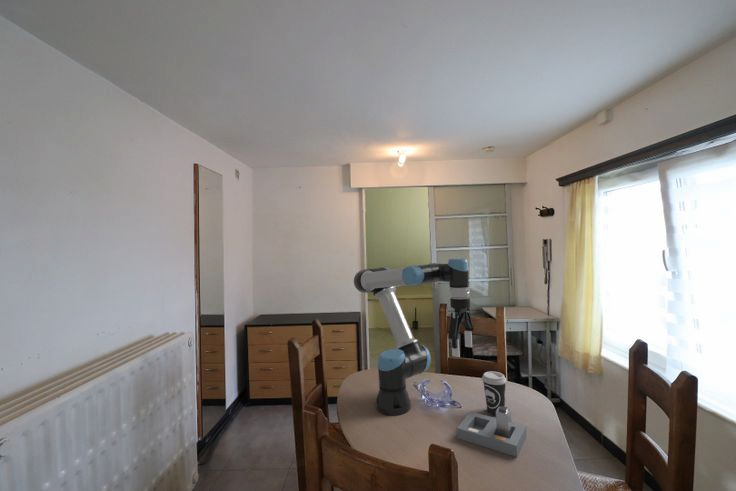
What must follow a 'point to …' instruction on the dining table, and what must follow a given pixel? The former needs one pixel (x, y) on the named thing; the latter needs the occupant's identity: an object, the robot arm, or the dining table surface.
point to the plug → (503, 422)
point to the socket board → (491, 434)
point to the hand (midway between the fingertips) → (462, 351)
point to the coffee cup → (494, 390)
